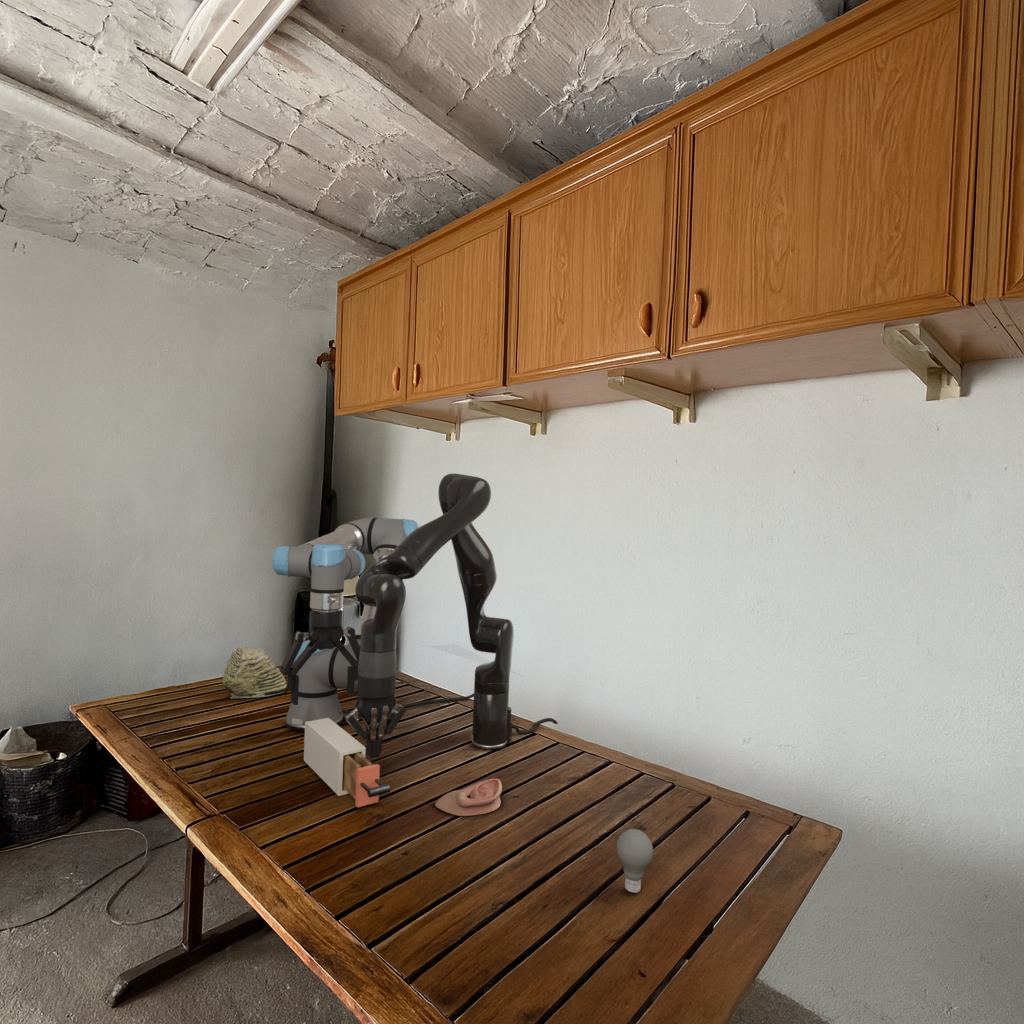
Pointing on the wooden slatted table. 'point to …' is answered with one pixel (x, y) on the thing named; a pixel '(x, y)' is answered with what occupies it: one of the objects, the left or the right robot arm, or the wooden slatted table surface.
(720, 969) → the wooden slatted table surface
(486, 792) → the anatomical model
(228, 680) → the fossil
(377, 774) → the drawer
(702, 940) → the wooden slatted table surface
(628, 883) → the light bulb
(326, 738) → the cabinet
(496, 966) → the wooden slatted table surface
